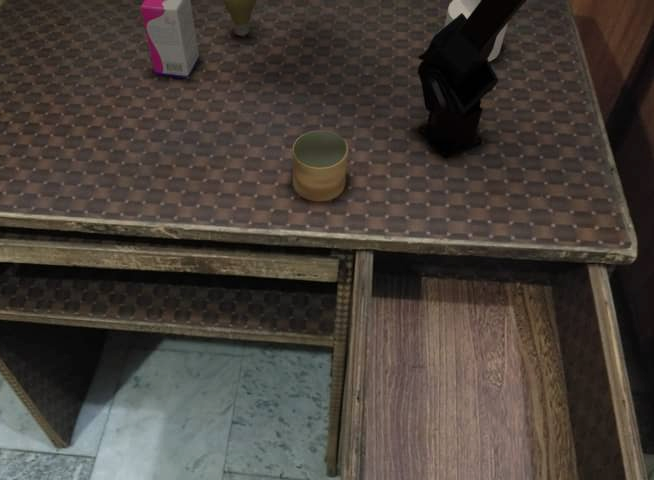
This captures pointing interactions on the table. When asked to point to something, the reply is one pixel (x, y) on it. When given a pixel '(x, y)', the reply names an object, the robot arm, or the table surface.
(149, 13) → the supplement box
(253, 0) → the light bulb
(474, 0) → the drinking glass
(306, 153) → the tan cup
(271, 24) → the table surface
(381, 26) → the table surface
